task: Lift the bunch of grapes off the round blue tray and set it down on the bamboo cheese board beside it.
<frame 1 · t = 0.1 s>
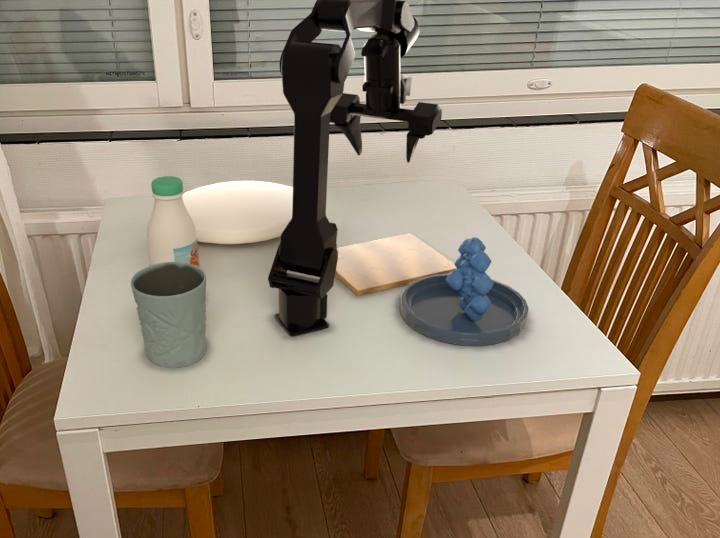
hand: (384, 157, 133), 15 cm above the table, tool pointing down, fingers open, 9 cm apart
grapes: (462, 313, 118), resting on round blue tray
plate: (239, 226, 147), on the table
round blue tray: (462, 313, 118), on the table
milk bottle: (178, 301, 122), on the table
green plant pot: (176, 353, 109), on the table
bamboo board: (385, 264, 132), on the table
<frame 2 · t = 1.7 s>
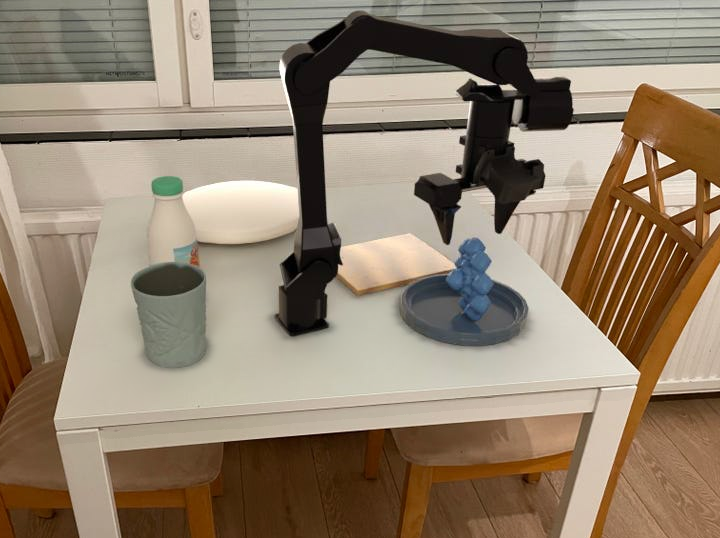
hand: (472, 238, 111), 13 cm above the table, tool pointing down, fingers open, 9 cm apart
nothing on the table moved.
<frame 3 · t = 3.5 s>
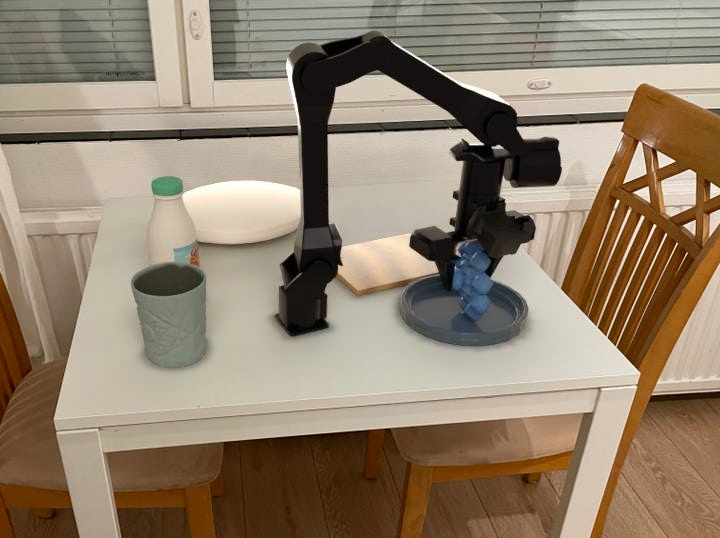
hand: (466, 286, 115), 5 cm above the table, tool pointing down, fingers closed on grapes, 6 cm apart
grapes: (462, 313, 118), resting on round blue tray, touching gripper
everything else where it was.
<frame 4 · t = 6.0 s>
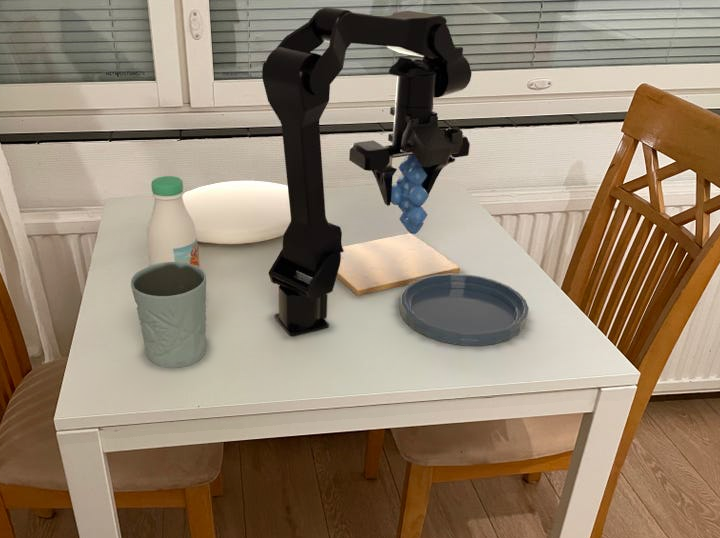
hand: (405, 201, 122), 13 cm above the table, tool pointing down, fingers closed on grapes, 6 cm apart
grapes: (403, 229, 125), point 8 cm above the table, touching gripper
everything else where it was.
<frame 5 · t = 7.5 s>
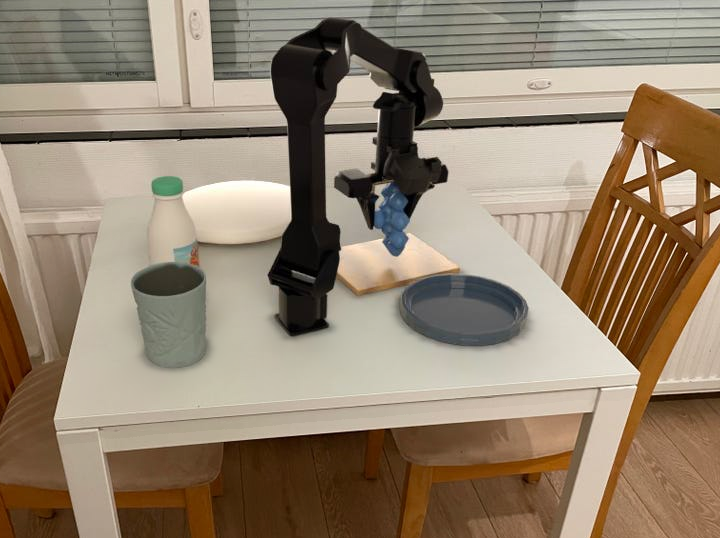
hand: (388, 225, 128), 7 cm above the table, tool pointing down, fingers closed on grapes, 6 cm apart
grapes: (386, 251, 131), point 3 cm above the table, touching gripper
everything else where it was.
when the fingers open (6 cm above the table, at t = 8.6 s): grapes stays where it is, resting on bamboo board.
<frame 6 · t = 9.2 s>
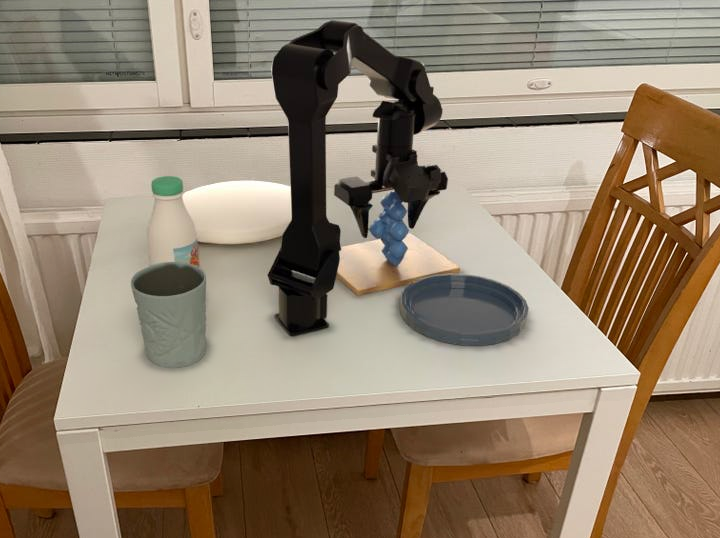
hand: (388, 232, 129), 6 cm above the table, tool pointing down, fingers open, 9 cm apart
grapes: (385, 260, 132), point 1 cm above the table, touching bamboo board
everything else where it was.
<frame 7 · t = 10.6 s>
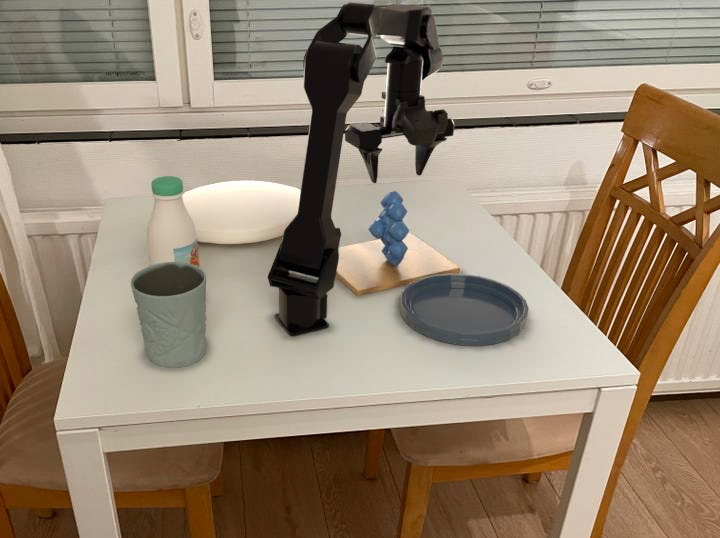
hand: (396, 178, 134), 12 cm above the table, tool pointing down, fingers open, 9 cm apart
nothing on the table moved.
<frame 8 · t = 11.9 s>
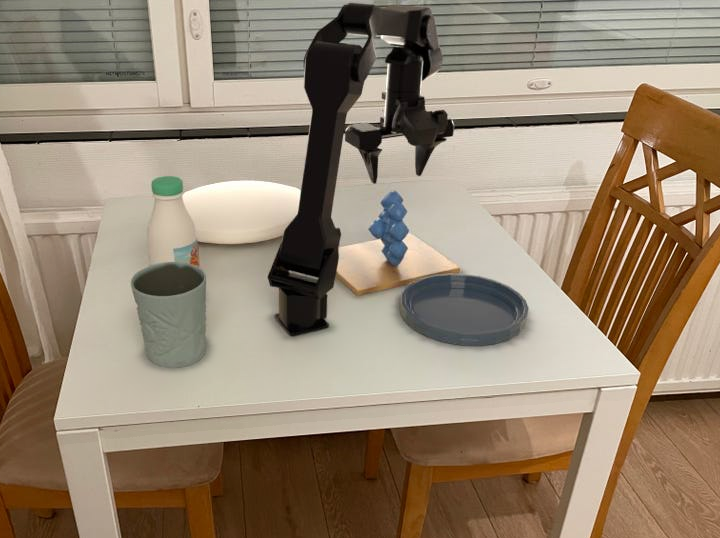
hand: (396, 179, 134), 12 cm above the table, tool pointing down, fingers open, 9 cm apart
nothing on the table moved.
at the end: grapes inside the target area on the bamboo board (0.1 cm from its centre), point 0.8 cm above the bamboo board's base; grapes touching bamboo board; grapes tilted 0° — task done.
